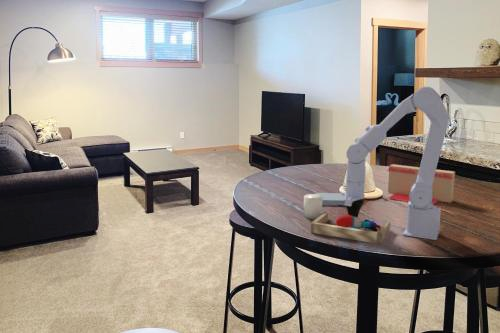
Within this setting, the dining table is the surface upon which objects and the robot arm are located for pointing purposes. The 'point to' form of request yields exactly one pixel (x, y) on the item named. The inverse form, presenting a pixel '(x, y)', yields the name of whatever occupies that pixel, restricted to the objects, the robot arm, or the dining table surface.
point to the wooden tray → (348, 231)
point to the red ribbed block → (407, 176)
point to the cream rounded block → (313, 206)
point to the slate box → (332, 198)
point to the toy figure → (356, 223)
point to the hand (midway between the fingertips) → (352, 221)
